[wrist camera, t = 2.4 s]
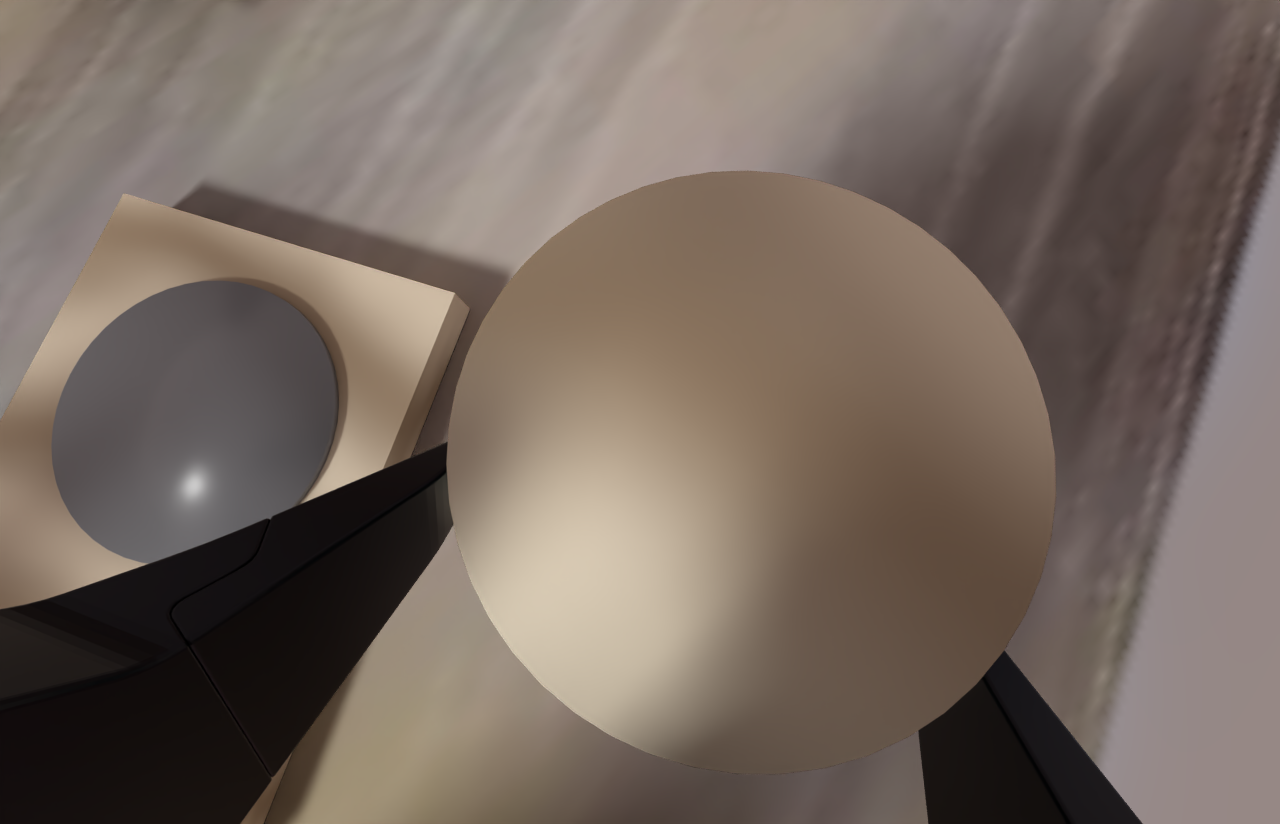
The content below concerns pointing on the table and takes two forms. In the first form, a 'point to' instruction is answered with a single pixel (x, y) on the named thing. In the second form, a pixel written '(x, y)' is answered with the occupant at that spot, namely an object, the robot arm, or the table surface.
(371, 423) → the stand board
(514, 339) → the bobbin
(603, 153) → the table surface
